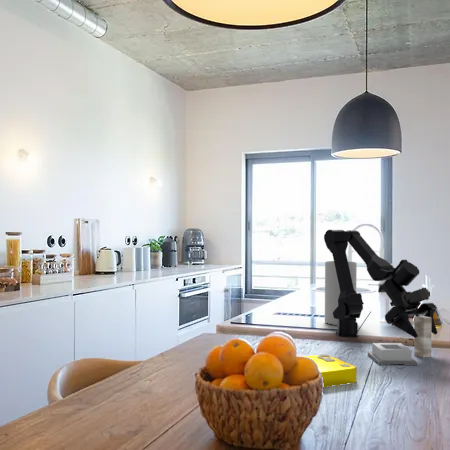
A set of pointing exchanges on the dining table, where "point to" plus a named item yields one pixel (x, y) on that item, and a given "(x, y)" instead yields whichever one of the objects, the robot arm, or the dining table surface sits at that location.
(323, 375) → the element tile
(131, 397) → the dining table surface
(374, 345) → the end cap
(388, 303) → the champagne flute
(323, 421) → the dining table surface
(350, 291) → the robot arm
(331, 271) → the cylinder vase
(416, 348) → the beige cylinder
